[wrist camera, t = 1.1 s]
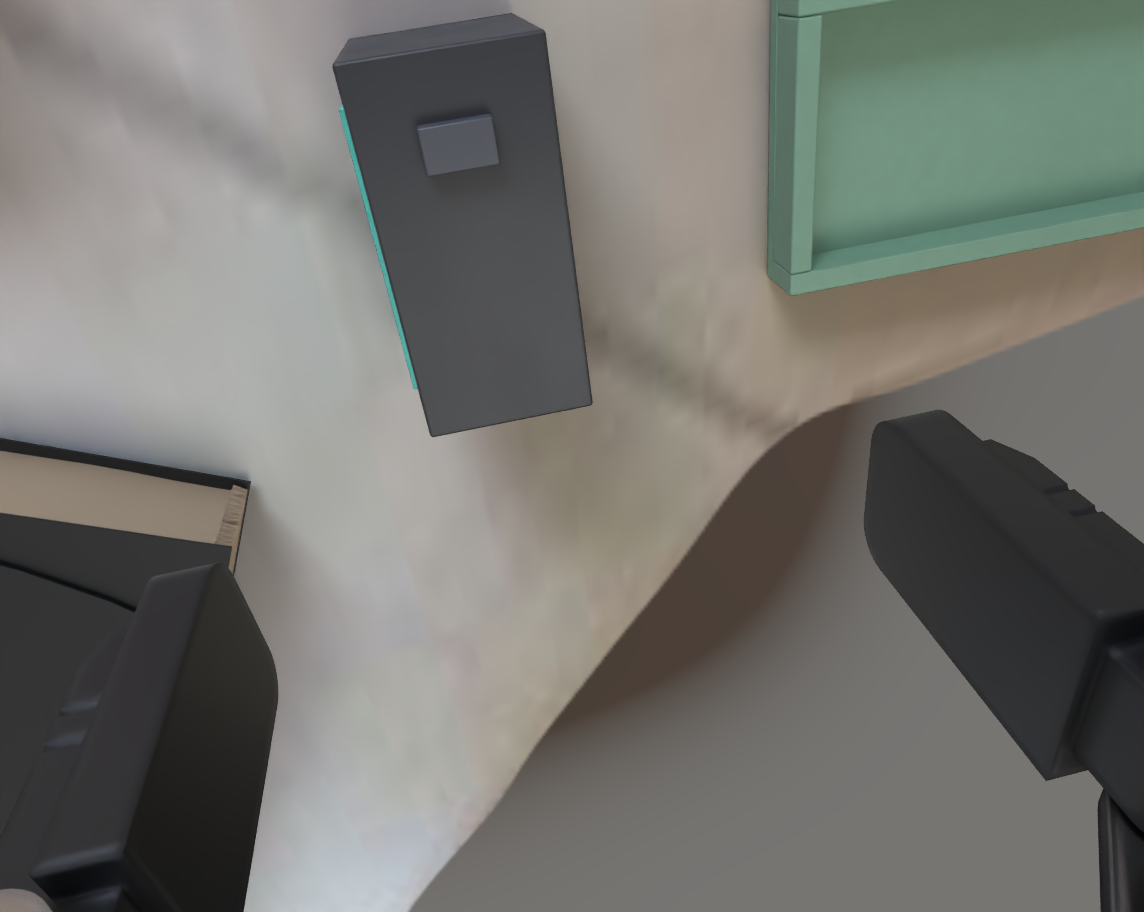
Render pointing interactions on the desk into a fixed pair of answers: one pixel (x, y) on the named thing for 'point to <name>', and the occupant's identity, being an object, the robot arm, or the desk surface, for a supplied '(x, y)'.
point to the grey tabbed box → (469, 216)
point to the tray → (948, 132)
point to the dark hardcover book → (87, 570)
